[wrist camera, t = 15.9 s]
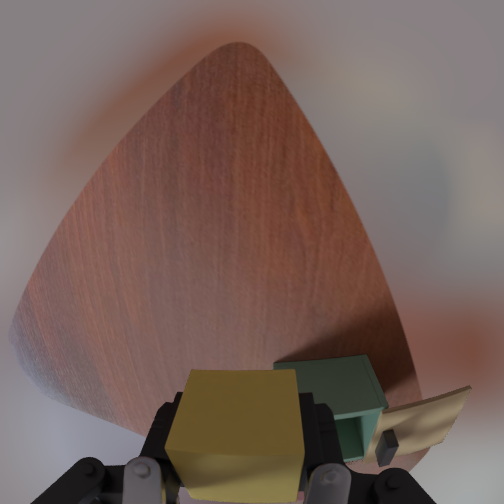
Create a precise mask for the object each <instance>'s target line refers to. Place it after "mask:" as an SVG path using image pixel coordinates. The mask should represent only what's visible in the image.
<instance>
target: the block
mask: <svg viewBox="0 0 504 504" xmlns="http://www.w3.org/2000/svg"><path fill="white" fill-rule="evenodd" d="M165 450H166V452H167V454H168V456H169V458H170V460H171V462H172V464H173V466H174V468H175V470H176V472H177V473H178V475H179V477H180V479H181V481H182V482H183V484H184V486H185V488H186V489H187V491H188V493H189V494H190V496H191V497H192V498H193V499H201V500H210V501H222V502H238V503H240V502H241V503H283V502H296V501H297V497H298V492H299V486H300V480H301V474H302V468H303V462H304V455H305V449H304V440H303V431H302V422H301V413H300V404H299V396H298V388H297V380H296V372H295V369H283V370H249V371H228V370H193V369H192V370H191V372H190V375H189V378H188V380H187V383H186V386H185V389H184V392H183V395H182V398H181V400H180V403H179V406H178V409H177V412H176V415H175V418H174V421H173V424H172V427H171V430H170V433H169V436H168V438H167V441H166V444H165Z"/></svg>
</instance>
